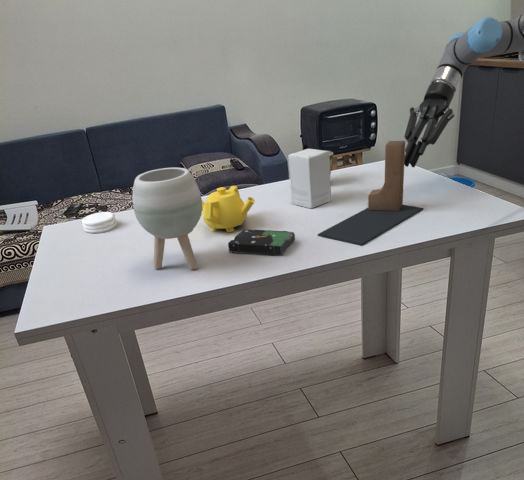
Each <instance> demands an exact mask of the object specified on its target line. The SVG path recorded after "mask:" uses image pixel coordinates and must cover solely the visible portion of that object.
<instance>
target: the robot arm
mask: <svg viewBox="0 0 524 480" xmlns="http://www.w3.org/2000/svg"><path fill="white" fill-rule="evenodd" d="M523 51H524V12H523V13H521V14H519V16H517V17H516V18H515V19H509V20H503V21H499V20H498V19H497V18H493V17H492V16H486V17H483V18H481V19H480V20H478V21H477V22H476V23H474V24H472V26H470V28H468V30H466V31H465V32H464V31H462V32H459V33H454V34H453V35H452V36H451V37H450V39H449V41H448V43H447V44H446V45H445V47H444V52H443V54H442V56H441V58H440V60H439V62H438V65H437V67H436V70H435V72H434V74H433V76H432V78H431V80H430V82H429V85H428V87H427V90H426V91H425V94H424V97H423V100H422V102H421V103H420V104H419V106H417V107H413V106H412V107H410V108H409V118H408V122H407V126H406V129H405V133H404V139H405V140H406V141H405V142H407V145H406V146H405V160H404V167H407V168H408V167H409V165H410V166H411V168H416V165H417V163H418V161H419V159H420V156H423V155H424V153H425V151H426V149H427V147H428V146H429V145H435V144H436V142H437V141H438V140H439V138H440V136H441V135H442V133H443V131H444V130H445V128H446V126H447V125H448V123H449V122H451V120H452V119H454V117H455V112H454V111H453V109H452V108H450V105H451V103H452V101H453V98H454V97H455V94H456V91H457V89H458V87H459V85H460V82H461V80H462V78H463V77H464V74H465V72H466V70H467V68H468V67H469V66H470V65H471V64H473V63H474V62H476V61H477V60H479V59H480V58H481V57H486V56H492V55H493V56H494V55H499V54H500V55H501V54H506V53H512V52H513V53H514V52H523ZM418 117H419V118H418ZM424 128H425V130H424ZM423 130H424V132H423ZM422 132H423V135H422V137H420V136H421V134H422ZM419 138H420V140H419Z"/></svg>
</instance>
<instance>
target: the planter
mask: <svg viewBox="0 0 524 480" xmlns="http://www.w3.org/2000/svg"><path fill="white" fill-rule="evenodd" d="M202 201H203V199H202V195H201V191H200V188H199V185H198V183H197V181H196V179H195V177H194V176H193V174H192V172H190V170H189V169H187V168H184V167H163V168H157V169H156V168H155V169H151V170H148V171H145V172H143V173H140V174H138V175H137V176H136V177H135V178H134V181H133V187H132V207H133V212H134V215H135V217H136V220H137V222H138V223H139V225H140V226H141V227H142V228H143V229H144V231H146V232H147V233H148V234H151V236H153V237H154V240H153V241H154V243H153V268H154V269H155V270H159V269H161V268H162V267H163V261H164V253H165V244H166V240H171V239H177V241H178V244H179V246H180V249H181V252H182V254H183V256H184V258H185V261H186V263H187V267H188V268H189V269H190V270H192V271H193V270H197V269H198V263H197V260H196V256H195V253H194V250H193V248H192V244H191V240H190V238H189V234H191V233H192V232H193V231H194V229H195V228H196V226H197V225H198V224H199V221H200V220H201V217H202V215H203V211H202Z"/></svg>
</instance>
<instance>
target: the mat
mask: <svg viewBox="0 0 524 480" xmlns="http://www.w3.org/2000/svg"><path fill="white" fill-rule="evenodd" d="M423 210H424V207H421V206H415V205H407V204H403V206H402V207H401V209H400V211H383V210H369V209H368V207H366V208H365V209H363V210H360V211H359V212H357V213H355V214H353V215H351V216H349V217H347V218H346V219H344V220H341V221H340V222H337V223H336V224H334V225H331V226H330V227H328V228H327V229H324V230H323V231H320V232H319V233H317V237H322V238H325V239H331V240H333V241H334V240H335V241H340V242H344V243H348V244H353V245H357V246H361V247H362V246H364V245H366V244H368V243H369V242H371V241H373V240H374V239H376V238H378V237H379V236H381V235H382V234H385V233H386V232H387V231H390V230H391V229H393V228H395V227H396V226H398V225H399V224H401V223H403V222H405V221H406V220H408V219H410V218H411V217H413V216H415V215H416V214H418V213H420V212H421V211H423Z"/></svg>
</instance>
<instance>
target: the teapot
mask: <svg viewBox="0 0 524 480" xmlns="http://www.w3.org/2000/svg"><path fill="white" fill-rule="evenodd" d="M254 203H255V199H254V198H253V197H250V196H249V197H247V199H246V200H245V202H244V200H243V199H242V198H241V195H240V190H239V188H238V185H231V186H230V187H229V189H227V188H226V187H224V186H221V187H217V188H216V191H212V192H211V193H209V195H208V196H207V198H206V201H205V202H204V200H202V220H203V222H204V224H206V225H207V226H208V227H210V229H209V230H210V231H211V232H213V231H218V230H224V229H225V230H226V232H227V233H232V232H234V231H235V229H234V228H235V227H238V226H242V225H243V224H244V222H245V220H246V219H247V218H248V212H249V211H250V210H251V209H252V207H253V205H254Z"/></svg>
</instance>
